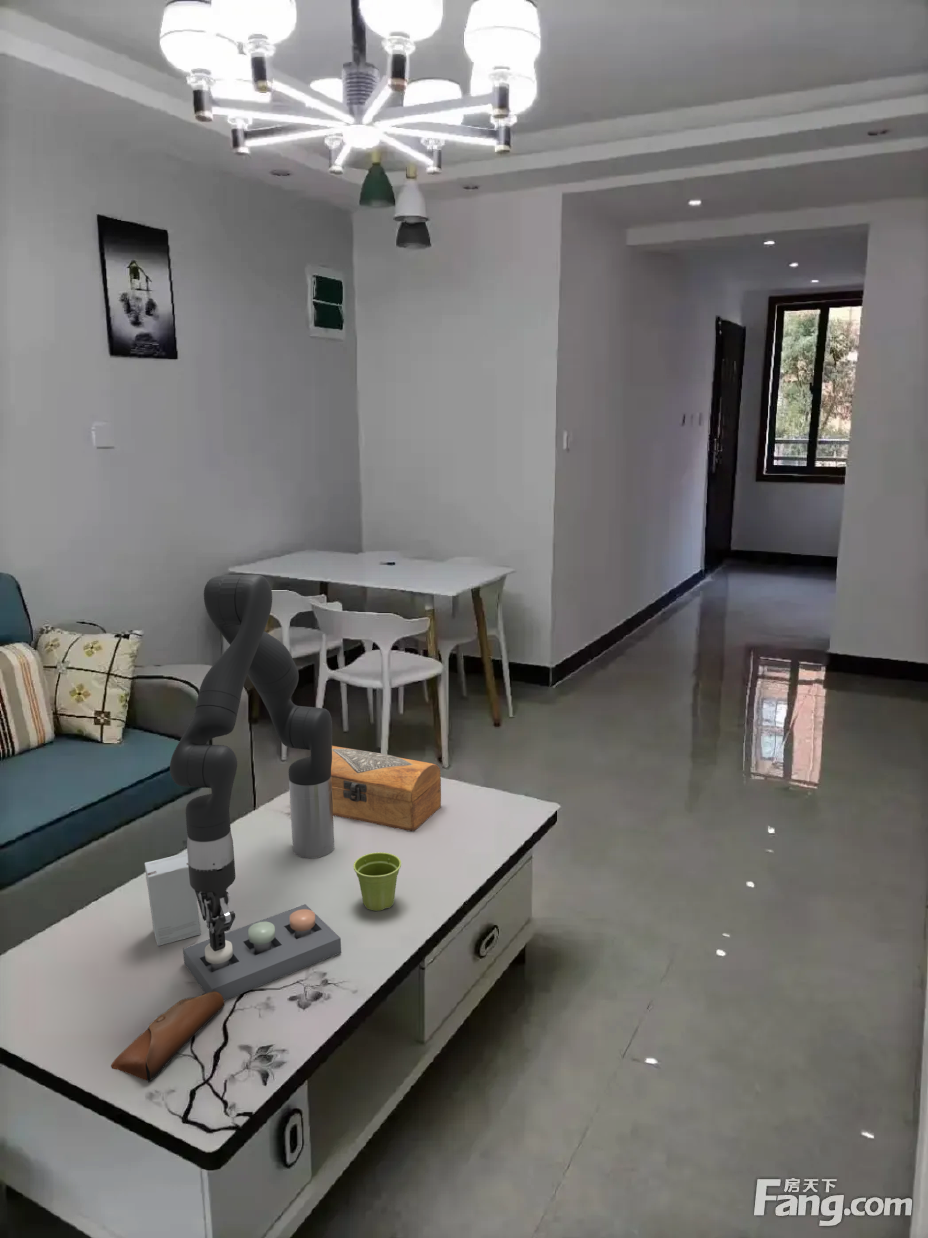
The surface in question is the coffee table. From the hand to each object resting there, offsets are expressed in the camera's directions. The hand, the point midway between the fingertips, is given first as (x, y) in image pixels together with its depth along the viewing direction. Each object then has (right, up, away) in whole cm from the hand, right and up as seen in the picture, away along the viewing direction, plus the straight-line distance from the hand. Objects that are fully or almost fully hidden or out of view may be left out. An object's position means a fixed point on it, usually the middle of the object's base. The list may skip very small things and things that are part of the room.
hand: (218, 948), depth 153 cm
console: (+6, -4, +6) cm, 10 cm away
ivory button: (0, -4, +1) cm, 4 cm away
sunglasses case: (-4, -10, -14) cm, 17 cm away
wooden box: (+20, +10, +65) cm, 68 cm away
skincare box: (-12, -3, +14) cm, 18 cm away
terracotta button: (+13, -2, +10) cm, 17 cm away
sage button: (+6, -3, +6) cm, 9 cm away
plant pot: (+26, 0, +23) cm, 35 cm away
